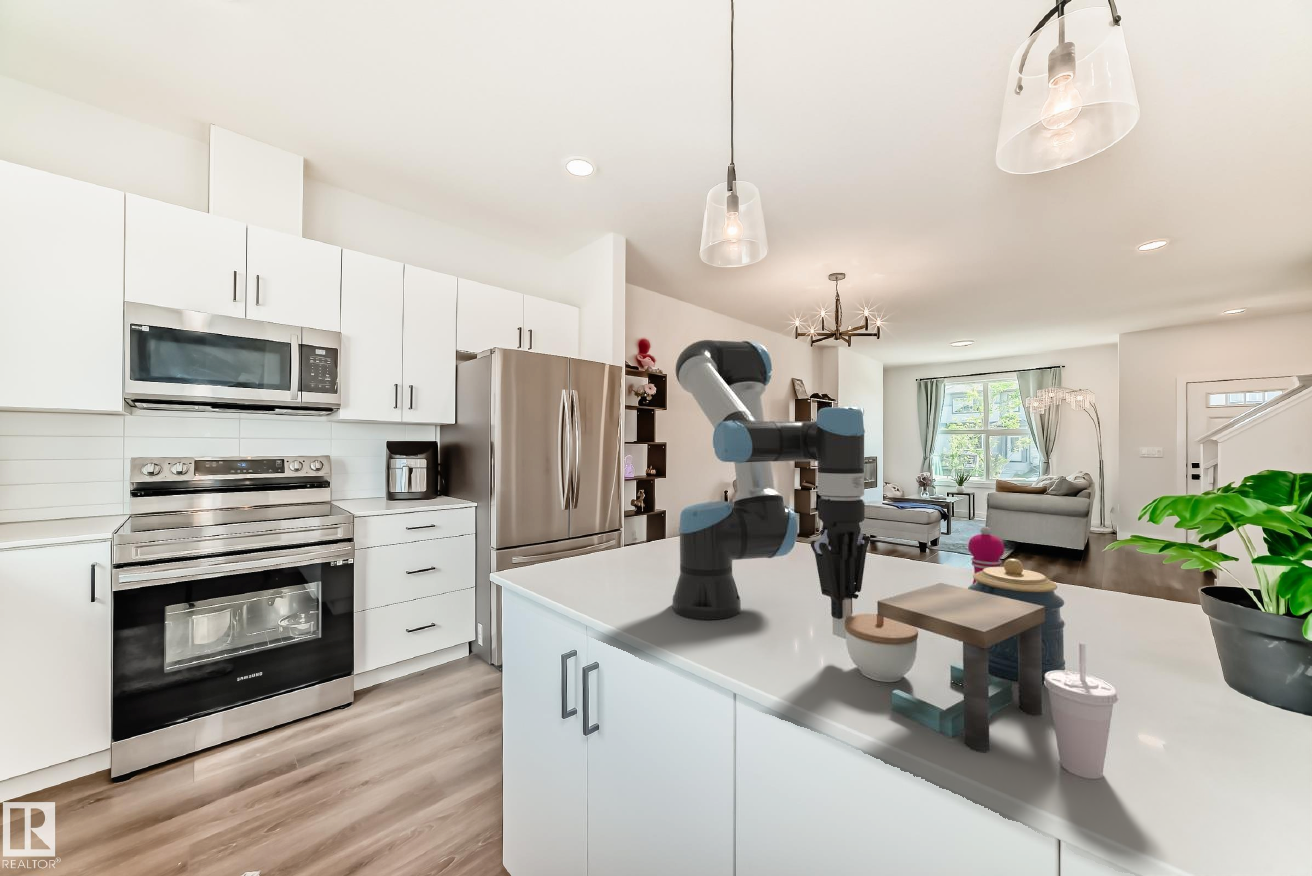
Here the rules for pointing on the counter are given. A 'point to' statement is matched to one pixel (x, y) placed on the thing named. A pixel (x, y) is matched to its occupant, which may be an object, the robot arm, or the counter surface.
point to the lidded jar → (881, 646)
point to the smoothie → (1081, 718)
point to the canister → (1031, 590)
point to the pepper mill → (985, 550)
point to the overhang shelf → (972, 655)
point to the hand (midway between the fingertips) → (842, 635)
